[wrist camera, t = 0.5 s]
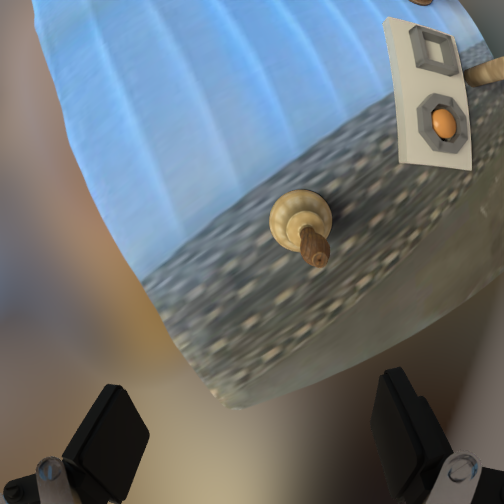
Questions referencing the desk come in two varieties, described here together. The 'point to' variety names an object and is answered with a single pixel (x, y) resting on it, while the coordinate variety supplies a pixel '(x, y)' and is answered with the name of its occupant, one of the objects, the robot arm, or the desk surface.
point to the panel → (427, 94)
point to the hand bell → (303, 225)
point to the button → (443, 123)
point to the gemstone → (421, 2)
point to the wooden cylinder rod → (485, 73)
